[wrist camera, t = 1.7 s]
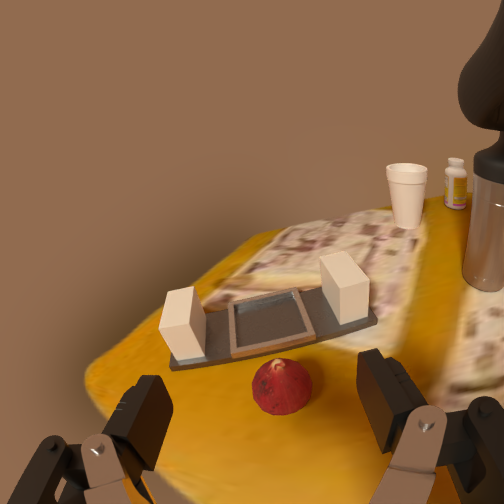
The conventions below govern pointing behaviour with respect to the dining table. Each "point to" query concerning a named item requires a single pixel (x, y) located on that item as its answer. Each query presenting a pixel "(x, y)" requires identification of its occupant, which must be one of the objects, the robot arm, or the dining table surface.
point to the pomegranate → (281, 386)
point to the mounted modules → (333, 286)
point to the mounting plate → (269, 327)
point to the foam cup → (407, 193)
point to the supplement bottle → (455, 184)
